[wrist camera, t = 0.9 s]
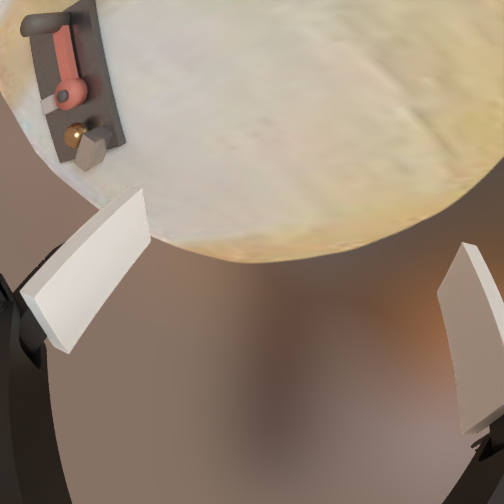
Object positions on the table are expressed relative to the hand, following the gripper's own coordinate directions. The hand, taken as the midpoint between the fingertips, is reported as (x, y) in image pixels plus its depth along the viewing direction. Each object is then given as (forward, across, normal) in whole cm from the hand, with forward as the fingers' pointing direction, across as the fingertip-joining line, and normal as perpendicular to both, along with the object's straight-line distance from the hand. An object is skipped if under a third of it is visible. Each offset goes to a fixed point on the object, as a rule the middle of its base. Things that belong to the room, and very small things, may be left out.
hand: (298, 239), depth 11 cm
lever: (+24, -36, +8) cm, 44 cm away
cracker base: (+26, -35, +5) cm, 44 cm away
